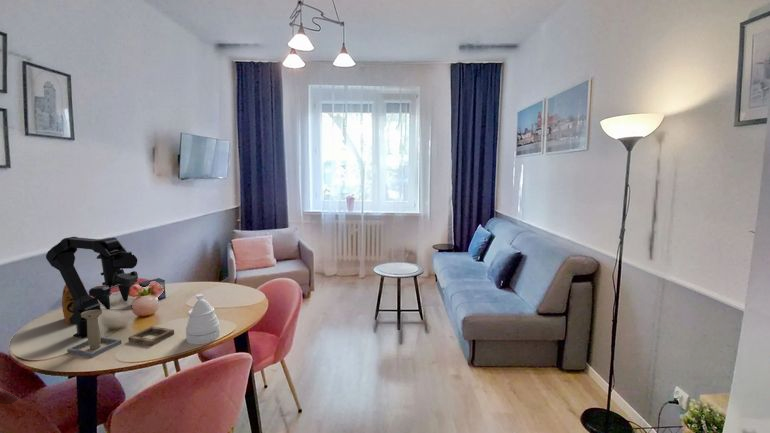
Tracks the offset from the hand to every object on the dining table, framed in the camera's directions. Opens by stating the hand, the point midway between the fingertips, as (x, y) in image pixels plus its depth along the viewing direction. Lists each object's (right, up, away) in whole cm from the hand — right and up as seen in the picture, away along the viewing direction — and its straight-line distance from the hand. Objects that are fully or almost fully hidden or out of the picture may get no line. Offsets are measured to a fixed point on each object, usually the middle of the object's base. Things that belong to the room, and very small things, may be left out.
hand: (117, 305), depth 151 cm
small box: (-14, -9, +46) cm, 48 cm away
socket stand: (+13, -14, +2) cm, 20 cm away
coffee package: (-34, -12, +20) cm, 41 cm away
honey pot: (+34, -15, +3) cm, 37 cm away
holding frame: (-4, -15, -7) cm, 17 cm away
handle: (-4, -16, -7) cm, 17 cm away
